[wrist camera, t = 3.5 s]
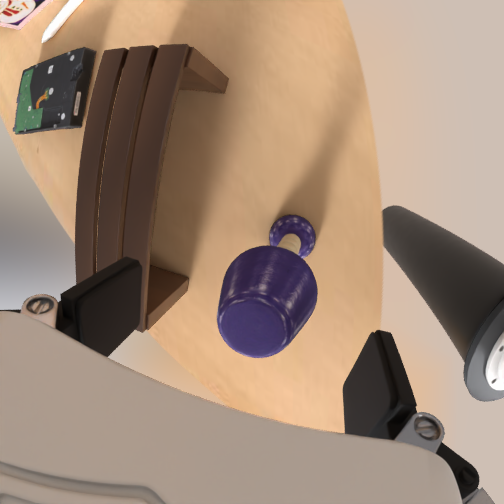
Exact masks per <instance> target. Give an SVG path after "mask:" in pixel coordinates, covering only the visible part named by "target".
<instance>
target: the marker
mask: <svg viewBox="0 0 504 504" xmlns="http://www.w3.org/2000/svg"><path fill="white" fill-rule="evenodd" d="M83 1H84V0H69V1H68V2H67V3H66V4H65V5H64V7H63V8H62V9H61V10H60V12H59V13H58V14H57V15H56V16H55V18H54V19H53V20H52V22H51V23H50V24H49V25H48V27H47V28H46V30H45V31H44V33H43V36H42V43H44V42H46V41H48V40H49V39H51V38H52V37H53V36H54V35H55V34H56V32H57V31H58V30H59V29H60V27H61V26H62V25H63V24H64V22H65V21H66V20H67V19H68V18H69V16H70V15H71V14H72V13H73V12H74V11H75V9H76V8H77V7H78V6H79V5H80V4H81V3H82V2H83Z"/></svg>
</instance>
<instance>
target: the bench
mask: <svg viewBox="0 0 504 504" xmlns="http://www.w3.org/2000/svg"><path fill="white" fill-rule="evenodd" d="M120 77H121V80H120ZM228 80H229V78H227V77H226V76H225V75H224V74H223V73H222V72H221V71H220V70H219V69H218V68H217V67H215V66H214V65H213V64H212V63H211V62H210V61H209V60H208V59H206V58H205V57H204V56H203V55H202V54H201V53H200V52H198V51H197V50H196V49H195V48H194V47H190V46H189V45H187V44H173V45H160V46H159V48H157V47H155V46H154V45H151V46H138V47H130V49H129V50H128V49H126V48H119V49H112V50H105V51H104V53H103V56H102V60H101V63H100V66H99V70H98V74H97V77H96V81H95V85H94V89H93V93H92V97H91V102H90V106H89V111H88V116H87V121H86V127H85V132H84V138H83V145H82V152H81V159H80V167H79V177H78V188H77V202H76V224H75V261H76V282H77V283H76V284H78V283H80V282H82V281H83V280H85V279H87V278H88V277H90V276H92V275H94V274H95V273H96V255H97V272H99V271H100V270H102V269H104V268H106V267H107V266H109V265H111V264H113V263H115V262H116V261H118V260H120V259H122V258H123V257H126V256H127V257H130V258H133V259H136V260H139V262H140V265H142V267H143V271H142V287H141V314H140V323H139V325H138V327H137V328H136V329H135V330H137V331H140V332H142V333H143V332H144V331H145V330H146V329H147V330H149V329H150V328H151V327H152V326H153V325H154V324H155V323H156V322H157V321H158V320H159V319H160V318H161V317H162V316H163V315H164V314H165V313H166V312H167V311H168V310H169V309H170V308H171V307H172V306H173V305H174V304H175V303H176V302H177V301H178V300H179V299H180V298H181V297H182V296H183V295H184V294H185V293H186V292H187V289H188V282H189V278H187V277H184V276H181V275H178V274H175V273H172V272H169V271H166V270H163V269H160V268H157V267H154V266H152V265H150V254H151V244H152V235H153V226H154V218H155V210H156V203H157V196H158V189H159V183H160V177H161V171H162V165H163V159H164V154H165V149H166V144H167V139H168V134H169V129H170V124H171V120H172V115H173V111H174V106H175V102H176V98H177V94H178V90H179V89H182V90H195V91H206V92H215V93H225V91H226V87H227V83H228ZM119 81H120V83H119ZM118 85H119V87H118ZM117 89H118V91H117ZM116 93H117V95H116ZM115 97H116V100H115ZM114 102H115V104H114ZM113 106H114V109H113ZM112 111H113V113H112ZM111 115H112V118H111ZM110 120H111V123H110ZM109 125H110V128H109ZM108 131H109V134H108ZM107 136H108V139H107ZM106 142H107V145H106ZM105 148H106V152H105ZM104 155H105V159H104ZM103 162H104V166H103ZM102 169H103V174H102ZM101 177H102V182H101ZM100 186H101V192H100ZM99 197H100V203H99ZM98 209H99V217H98ZM97 225H98V236H97Z"/></svg>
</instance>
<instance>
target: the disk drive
mask: <svg viewBox="0 0 504 504" xmlns="http://www.w3.org/2000/svg"><path fill="white" fill-rule="evenodd" d="M95 54H96V51H94V50H91V49H89V48H85V47H83V48H80V49H76V50H73V51H71V52H68V53H64V54H62V55H59V56H57V57H54V58H52V59H49V60H47V61H44V62H41V63H39V64H37V65H34V66H31V67H30V68H28V69H25V70H24V71H23V74H22V78H21V83H20V87H19V94H18V97H17V103H18V104H17V110H16V118H15V126H14V128H13V132H15V134H16V135H17V134H29V133H35V132H42V131H50V130H58V129H73V128H81V127H82V121H83V116H84V111H85V105H86V99H87V94H88V88H89V83H90V78H91V73H92V69H93V65H94V58H95Z"/></svg>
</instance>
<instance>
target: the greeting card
mask: <svg viewBox="0 0 504 504" xmlns="http://www.w3.org/2000/svg"><path fill="white" fill-rule="evenodd" d="M52 1H53V0H0V26H3V27H8V28H13V29H17V30H21V29H22V28H23V27H24V26H25V25H26V24H27V23H28V22H29V21H30V20H31V19H32V18H33V17H34V16H35V15H37V14H38V13H39V12H40V11H41V10H42V9H43V8H45V7H46V6H47V5H48V4H49V3H51V2H52Z"/></svg>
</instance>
